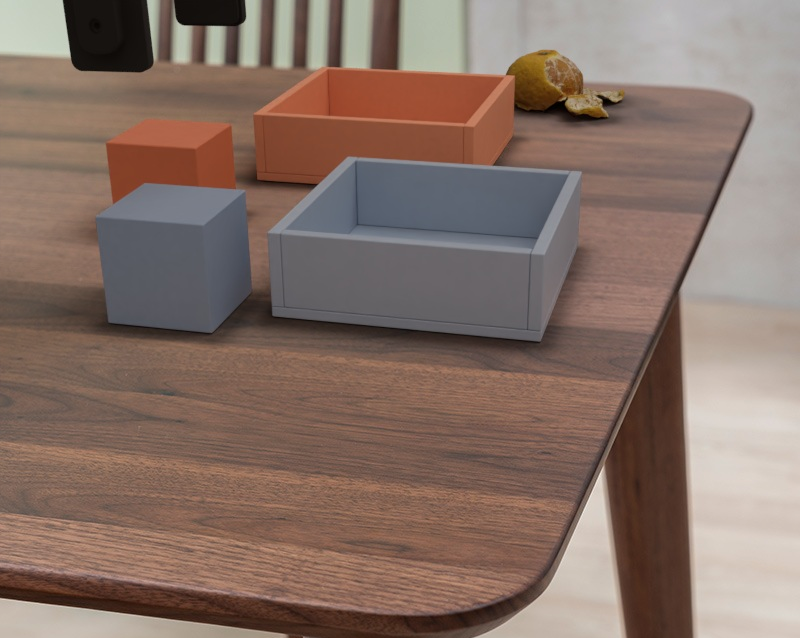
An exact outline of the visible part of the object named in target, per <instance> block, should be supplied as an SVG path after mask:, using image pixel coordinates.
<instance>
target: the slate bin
mask: <svg viewBox="0 0 800 638" xmlns="http://www.w3.org/2000/svg"><path fill="white" fill-rule="evenodd" d="M582 180H583V171H581V170H563V169H552V168H551V169H549V168H535V167H534V168H532V167H517V166H515V167H514V166H502V165H501V166H500V165H493V166H488V165H472V164H456V163H440V162H424V161H409V160H393V159H377V158H361V157H359V158H358V157H347V158H346V159H345V160H344V161H343V162H342V163H341V164H340V165H338V166H337V167H336V168H335V169H334V170H333V171H332V172H331V173H330V174H329V175H328V176H327V177H326V178H325V179H324V180H323V181H321V182H320V183H319V184H316V186H315V187H314V188H313V189H311V191H310V192H309V193H307V194H306V195H305V196H304V197H303V198H302V199H301V200H300V201H299V202H298V203H297V204H296V205H295V206H294V207H293V208H291V210H289V211H288V212H287V213H286V214H284V216H283V217H282V218H281V219H280V220H278V222H277V223H276V224H275V225H273V226H272V227H271V228H270V229H269V230H268V231H267V236H266V237H267V251H268V266H269V283H270V299H271V301H270V302H271V315H272V317H276V318H286V319H296V320H307V321H317V322H327V323H328V322H329V323H339V324H349V325H360V326H370V327H380V328H391V329H400V330H401V329H403V330H413V331H423V332H433V333H445V334H454V335H464V336H474V337H485V338H496V339H507V340H516V341H517V340H518V341H527V342H539V343H540V342H541V341H542V339H543V336H544V334H545V331H546V329H547V326H548V324H549V322H550V319H551V316H552V314H553V311H554V308H555V306H556V304H557V301H558V298H559V296H560V293H561V291H562V289H563V285H564V283H565V281H566V279H567V275H568V273H569V271H570V268H571V266H572V265H571V264H573V263H572V262H573V260H574V258H575V255H576V252H577V251H578V249H579V248H578V247H579V233H580V215H581V198H582V183H583V182H582Z"/></svg>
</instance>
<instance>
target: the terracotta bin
mask: <svg viewBox="0 0 800 638" xmlns="http://www.w3.org/2000/svg"><path fill="white" fill-rule="evenodd" d="M514 91H515V76H513V75H506V74H490V73H489V74H487V73H470V72H469V73H466V72H448V71H447V72H446V71H424V70H403V69H382V68H381V69H379V68H360V67H359V68H358V67H337V66H321V67H319V68H318V69H317V70H315V71H314V72H313V73H311V74H309V75H308V76H307V77H305V78H304V79H302V80H301V81H299V82H298V83H297V84H295V85H294V86H292V87H291V88H289V89H288V90H286V91H284V93H282V94H281V95H279V96H277V97H276V98H275V99H273V100H272V101H271V102H269V103H267V104H266V105H265V106H263V107H262V108H260V109H258V110H257V111H256V112H254V113H253V114H252V116H253V134H254V135H253V136H254V149H255V150H254V151H255V165H256V179H257V181H262V182H263V181H265V182H279V183H280V182H281V183H291V184H293V183H294V184H308V185H310V184H311V185H318V184H319V183H320V182H321V181H323V180H324V179H325V178H326V177H327V176H328V175H329V174H330V173H331V172H332V171H333V170H334V169H335V168H336V167H337V166H338V165H340V164H341V163H342V162H343V161H344V160H345V159H346V158H347V157H358V158H359V157H361V158H377V159H393V160H409V161H424V162H440V163H456V164H472V165H488V166H494V165H495V162H497V160H498V158H499V157H500V156H501V154H502V153H503V151H504V150H505V148H506V147H507V146H508V144H509V143H510V141H511V139H512V138H513V136H514V121H515V120H514V119H515V118H514V117H515V103H514Z"/></svg>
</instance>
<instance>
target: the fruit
mask: <svg viewBox="0 0 800 638" xmlns="http://www.w3.org/2000/svg"><path fill="white" fill-rule="evenodd" d="M505 75H513V76H515V91H514V104H515V105H516V106H517V107H518V108H520V109H523V110H525V111H526V112H530V110H531V111H532V110H533V111H541V112H545V111H546V110H547V109H548V108H550V107H551V106H552V105H554V104H555V103H557V102H562V101H565V103H564V106H565V109H566V110H567V111H568V112H569V113H570V114H571V115H572V117H574V118H576V116H579V115H582V114H584V115H588V116H590V117H594V118H601V117H603V118H609V117H610V116H609V114H608V112H607V110H605V109H604V108H603V103H604V101H603V99H604V100H608V101H611V102H613V103H618V102H619V101H622V100H624V98H625V95H626V91H624V90H623V89H619V90H604V91H596V90H593V89H591V88H589V87H584V75H583V73H582V71H581V70H580V69H579V67H578V66H577V65H576V63H575V62H573V61H572V60H571V59H569V58H568V57H567V56H565V55H562V54H560V53H559V52H558V51H557V50H555V49H539V50H537V51H534V52H530V53H527V54H525V55H522V56H519V57H518V58H517V59H516V60H514V62H512V63H511V64H510V65H509V67H508V68H507V71H506V73H505Z"/></svg>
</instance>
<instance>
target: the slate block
mask: <svg viewBox="0 0 800 638" xmlns="http://www.w3.org/2000/svg"><path fill="white" fill-rule="evenodd" d="M246 196H247V195H246V190H245V189H237V188H236V189H223V188H208V187H194V186H180V185H166V184H152V183H144V184H143V185H141V186H140V187H138V188H137V189H135V190H134V191H132V192H131V193H129V194H128V195H126V196H125V197H123V198H122V199H120V200H119V201H117V202H116V203H115V204H113V203H112V205H110V206H109V207H107V208H106V209H104V210H103V211H101V212H99V213H98V214H97V215H96V216H95V217H94V219H95V226H96V235H97V241H98V251H99V259H100V267H101V273H102V280H103V281H102V282H103V289H104V290H103V291H104V299H105V305H106V314H107V322H108V324H115V325H126V326H134V327H135V326H136V327H145V328H156V329H166V330H176V331H184V332H185V331H187V332H196V333H204V334H213V333H214V332H215V331H216V330H217V329H218V328H219V327H220V326H221V325H222V323H224V322H225V321H226V320H227V319H228V317H230V315H231V314H233V313H234V312H235V310H236V309H238V308H239V306H240V305H241V304H242V303H243V302H244V301H245V300H247V298H248V297H249V296H250V295H251V294H252V293H253V283H252V270H251V269H252V268H251V267H252V266H251V254H250V239H249V226H248V212H247V211H248V209H247V197H246Z"/></svg>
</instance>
